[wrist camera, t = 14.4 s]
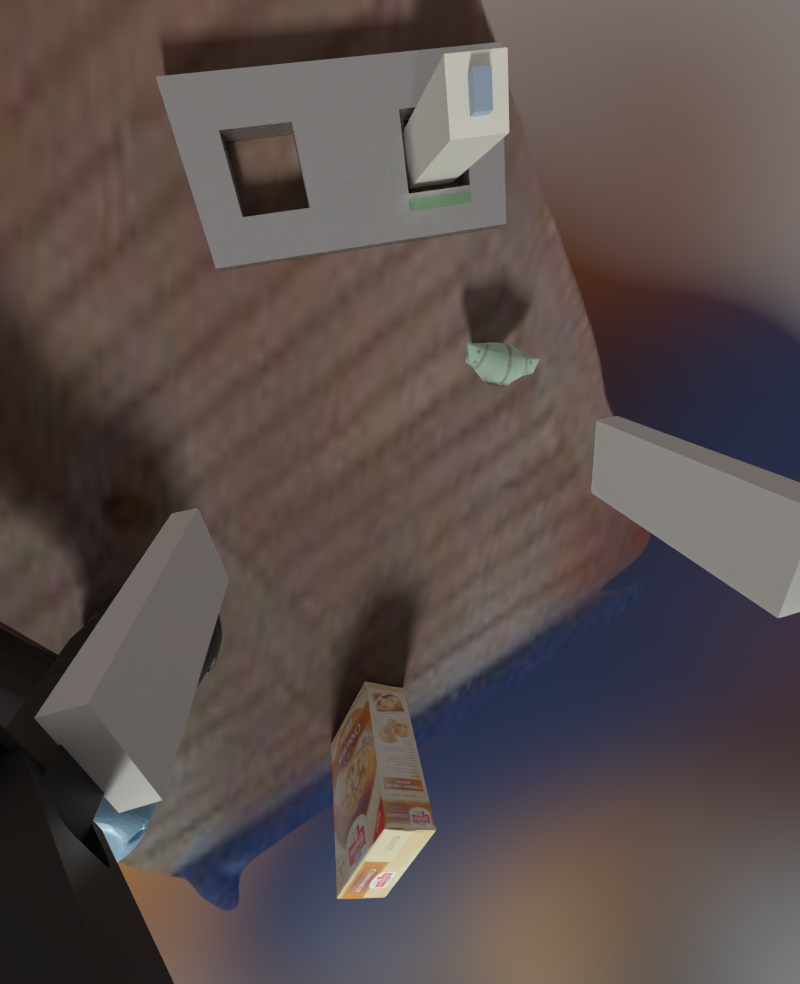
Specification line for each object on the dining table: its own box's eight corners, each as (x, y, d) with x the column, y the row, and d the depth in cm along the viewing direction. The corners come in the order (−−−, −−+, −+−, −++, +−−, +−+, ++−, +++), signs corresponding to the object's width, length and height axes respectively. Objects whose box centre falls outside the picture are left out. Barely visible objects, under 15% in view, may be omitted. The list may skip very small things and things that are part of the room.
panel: (221, 271, 36) (215, 268, 33) (167, 93, 30) (154, 75, 28) (495, 228, 39) (507, 223, 36) (488, 59, 33) (502, 40, 31)
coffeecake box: (363, 680, 61) (384, 829, 44) (405, 686, 63) (439, 830, 46) (328, 744, 66) (334, 902, 48) (368, 748, 68) (387, 899, 51)
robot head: (520, 347, 44) (553, 354, 38) (509, 384, 46) (539, 396, 40) (453, 332, 42) (477, 337, 36) (444, 371, 44) (465, 382, 38)
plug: (409, 188, 36) (454, 135, 25) (402, 132, 34) (448, 45, 23) (451, 183, 36) (514, 127, 25) (447, 126, 35) (513, 39, 23)
